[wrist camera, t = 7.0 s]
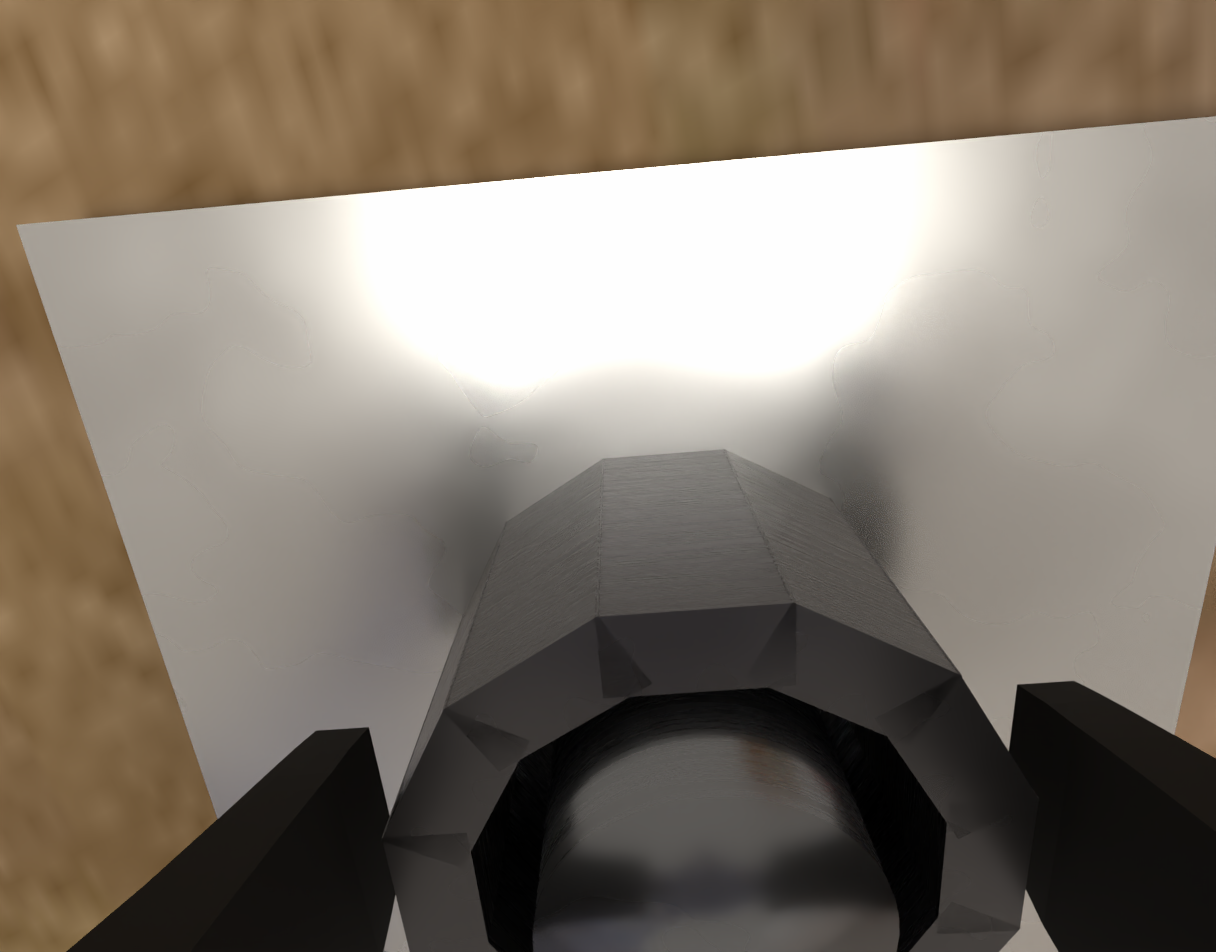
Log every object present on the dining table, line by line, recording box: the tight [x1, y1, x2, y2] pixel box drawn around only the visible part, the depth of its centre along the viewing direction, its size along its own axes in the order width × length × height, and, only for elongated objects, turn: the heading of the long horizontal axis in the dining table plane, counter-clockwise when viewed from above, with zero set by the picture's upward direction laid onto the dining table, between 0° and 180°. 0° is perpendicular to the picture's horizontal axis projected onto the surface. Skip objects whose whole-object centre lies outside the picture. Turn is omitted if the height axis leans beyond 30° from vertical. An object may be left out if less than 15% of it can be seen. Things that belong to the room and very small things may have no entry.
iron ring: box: [381, 449, 1040, 952], centre depth 9 cm, size 6×6×4 cm
